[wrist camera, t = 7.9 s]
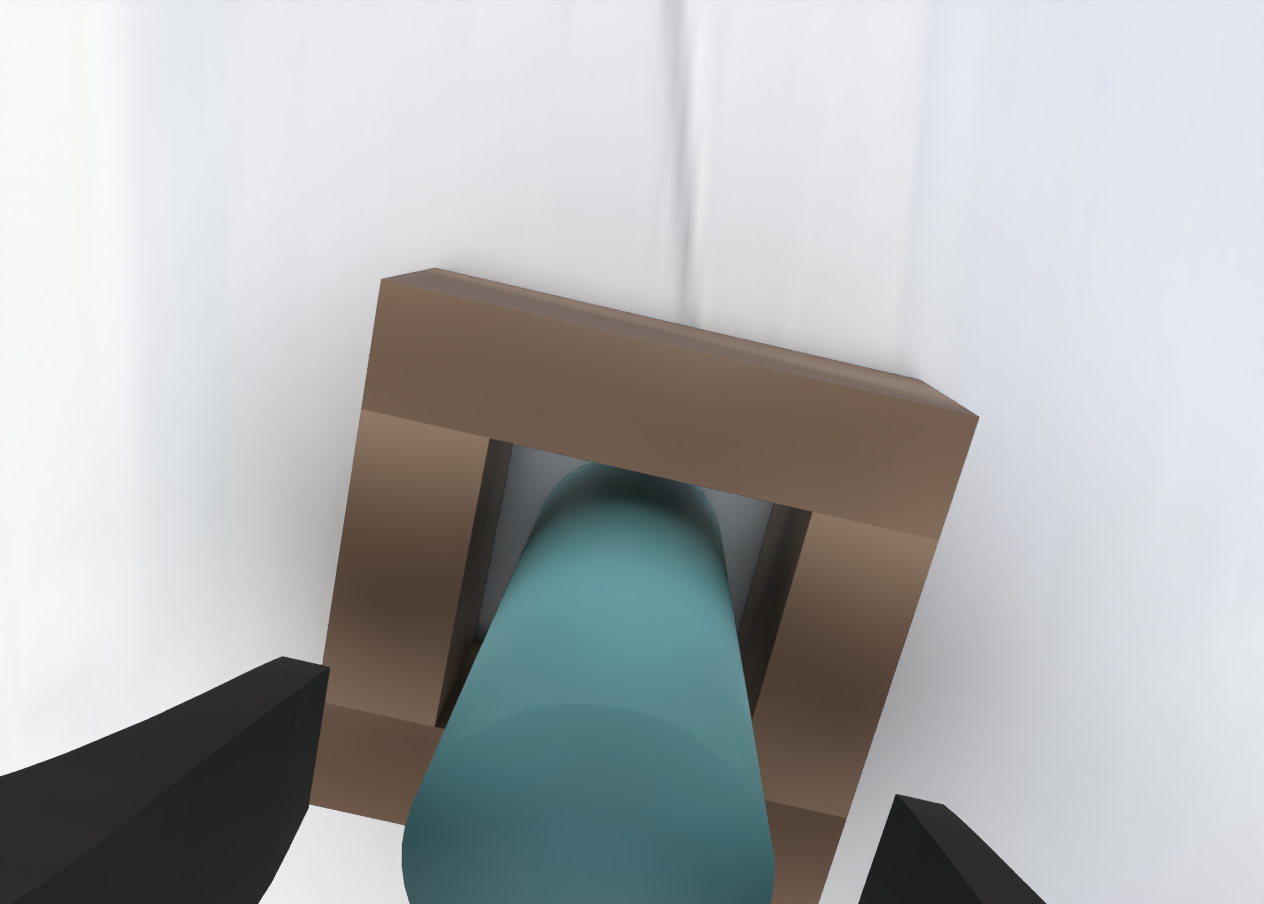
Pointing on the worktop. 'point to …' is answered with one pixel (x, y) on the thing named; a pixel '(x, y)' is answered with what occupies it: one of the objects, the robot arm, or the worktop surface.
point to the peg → (601, 720)
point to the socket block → (647, 443)
